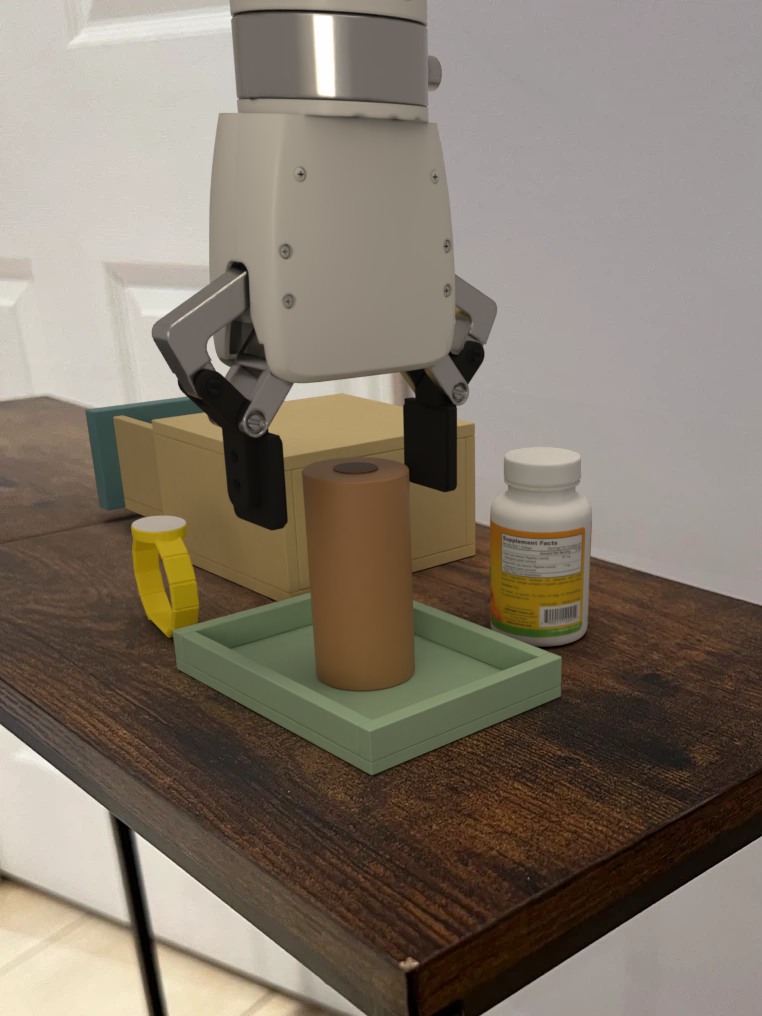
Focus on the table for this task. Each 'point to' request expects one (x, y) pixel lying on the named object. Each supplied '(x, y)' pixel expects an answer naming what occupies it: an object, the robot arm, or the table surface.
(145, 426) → the drawer
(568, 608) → the supplement bottle
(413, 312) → the robot arm
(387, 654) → the paper roll
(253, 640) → the tray
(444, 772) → the table surface
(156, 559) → the watch
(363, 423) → the cabinet
